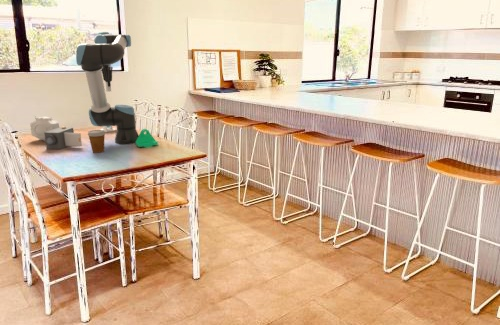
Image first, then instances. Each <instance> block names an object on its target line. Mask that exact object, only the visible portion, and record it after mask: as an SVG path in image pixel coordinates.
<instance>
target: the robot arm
mask: <svg viewBox="0 0 500 325" xmlns="http://www.w3.org/2000/svg"><path fill="white" fill-rule="evenodd" d="M93 41H94V43H80V44H78V45H77V46H76V52H75V53H76V54H75V56H76V64H77V65H78V66H79V67H80V68H81V70H83V71H84V72H85V75H86V81H87V84H88V85H87V86H88V90H89V94H90V98H91V103H92V104H91V105H90V108H89V110H88V116H89V120H90V123H91V124H92V126H94V127H100V128H102V126H112V127H116V133H115V137H114V142H115V144H118V145H119V144H120V145H121V144H122V145H130V144H136V140H137V138H138V136H139V133H138V131H137V129H136V128H137V126H136V116H135V115H136V114H135V108H134V107H133V106H131V105H126V104H114V106H112V107H111V104H110V103H109V102H108V100H107V95H106V94H107V93H106V92H112V84H111V82H112V80H113V66H111V65H113V64H116V63H118V62H120V61H121V60H122V59H123V58H124V56H125V49H126V48H128V47H129V48H130V47H132V38H131V36H130V34H110V32H108V31H98V32H97V35H96V36H95V37H94V40H93ZM104 82H105V83H104ZM104 84H105V85H104ZM105 87H106V90H105Z"/></svg>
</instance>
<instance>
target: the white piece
mask: <svg viewBox="0 0 500 325" xmlns="http://www.w3.org/2000/svg"><path fill="white" fill-rule="evenodd" d="M99 130H104V132H105V133H108V132H115V131H117V128H114V127H113V126H101V129H99Z"/></svg>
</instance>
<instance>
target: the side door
mask: <svg viewBox="0 0 500 325" xmlns="http://www.w3.org/2000/svg"><path fill="white" fill-rule="evenodd" d="M81 134H82V133H80V132H74V133H64V139H65V146H67V147H82V146H83V145H82V135H81Z"/></svg>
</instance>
